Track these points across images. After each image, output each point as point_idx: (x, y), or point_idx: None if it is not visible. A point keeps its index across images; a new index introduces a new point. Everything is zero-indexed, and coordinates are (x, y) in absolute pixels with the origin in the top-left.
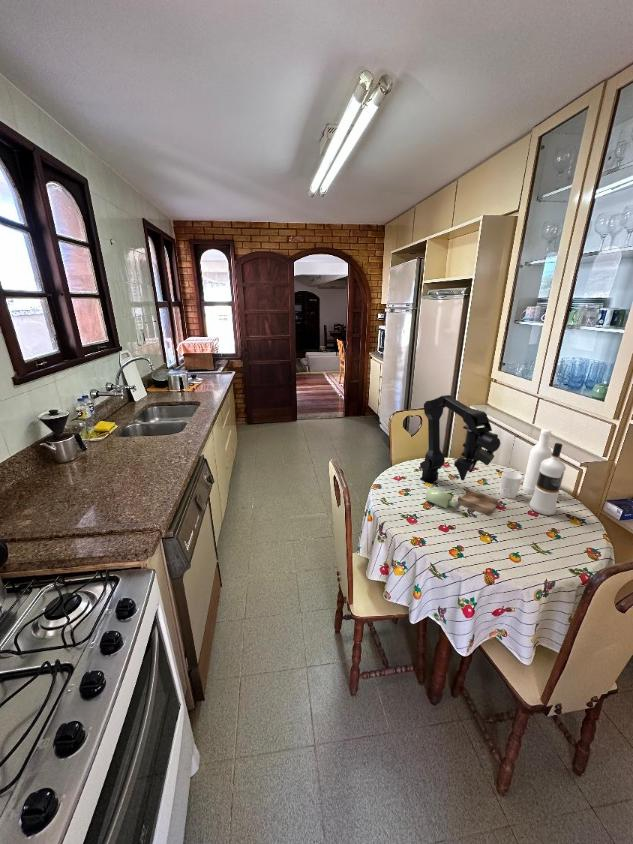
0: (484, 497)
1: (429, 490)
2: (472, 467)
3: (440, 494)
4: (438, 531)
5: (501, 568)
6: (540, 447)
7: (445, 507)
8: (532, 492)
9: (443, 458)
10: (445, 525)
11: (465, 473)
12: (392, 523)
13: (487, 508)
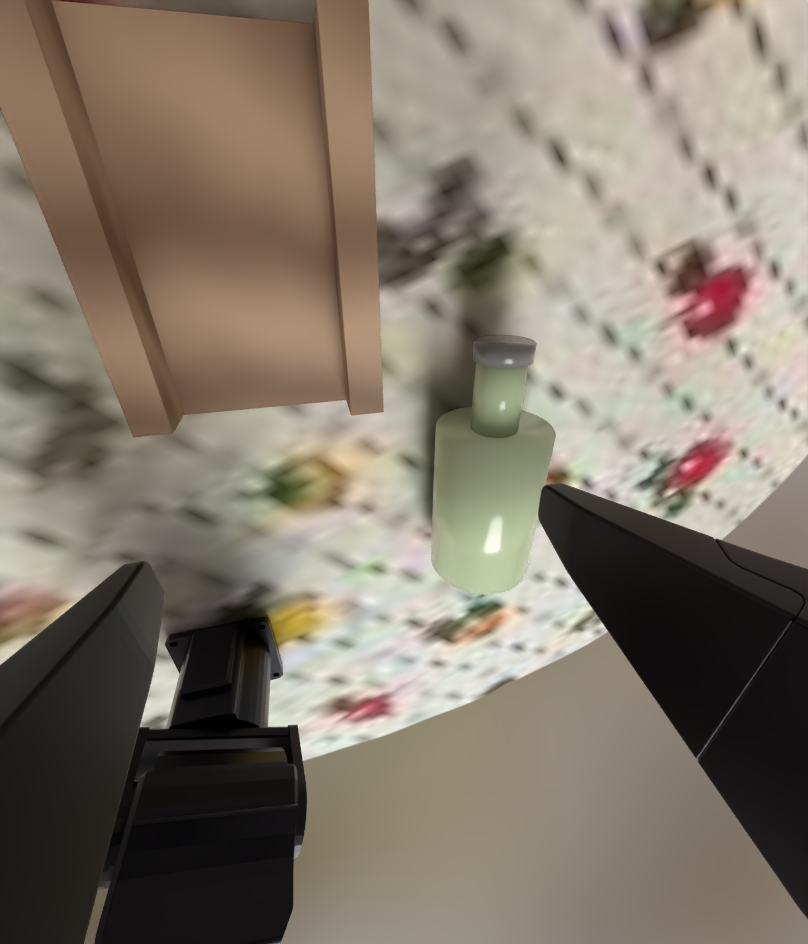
0: (103, 208)
1: (521, 573)
2: (89, 667)
3: (534, 505)
4: (754, 312)
5: None
6: None
7: (522, 412)
8: None
9: (137, 876)
10: (682, 311)
11: (769, 570)
12: (747, 499)
13: (365, 46)
